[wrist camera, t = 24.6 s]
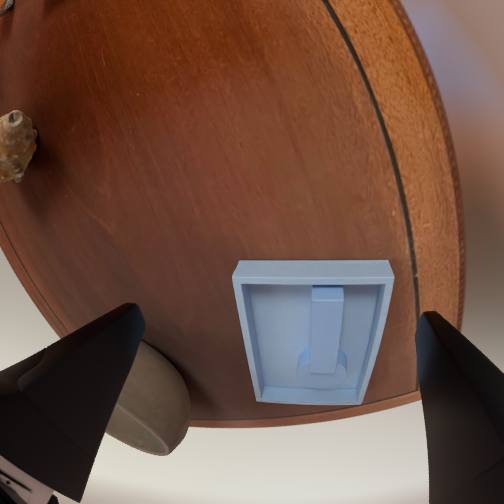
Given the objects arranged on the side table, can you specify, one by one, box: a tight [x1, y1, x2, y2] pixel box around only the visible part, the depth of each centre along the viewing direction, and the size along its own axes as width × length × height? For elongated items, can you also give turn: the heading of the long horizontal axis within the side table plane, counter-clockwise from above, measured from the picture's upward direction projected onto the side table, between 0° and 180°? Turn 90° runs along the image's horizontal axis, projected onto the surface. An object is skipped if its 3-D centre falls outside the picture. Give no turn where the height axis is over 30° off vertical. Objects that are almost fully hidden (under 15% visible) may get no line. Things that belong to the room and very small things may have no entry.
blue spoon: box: [296, 285, 347, 389], centre depth 22 cm, size 12×5×3 cm, turn 7°
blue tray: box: [232, 260, 395, 405], centre depth 23 cm, size 16×11×2 cm
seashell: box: [0, 110, 37, 183], centre depth 18 cm, size 9×8×10 cm
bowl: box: [105, 341, 191, 456], centre depth 28 cm, size 17×18×10 cm
